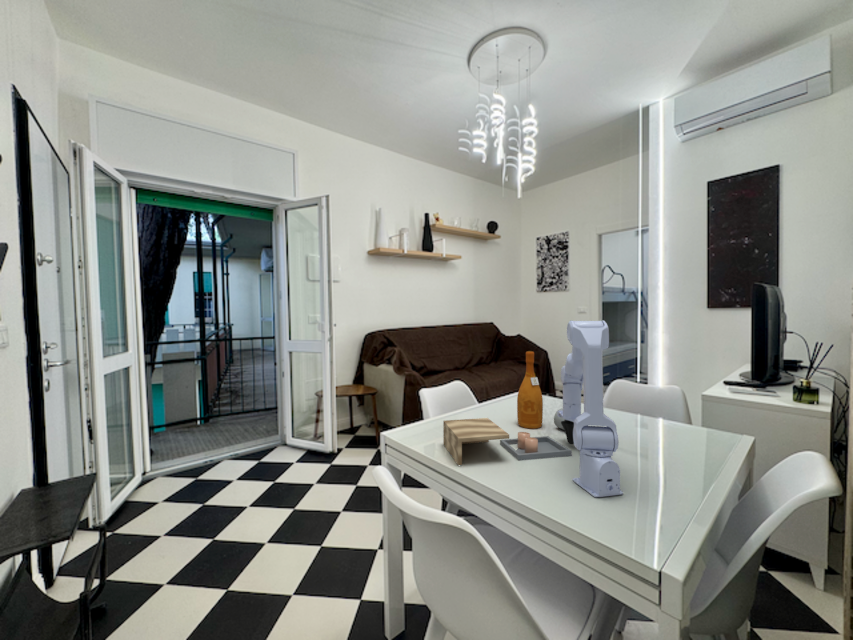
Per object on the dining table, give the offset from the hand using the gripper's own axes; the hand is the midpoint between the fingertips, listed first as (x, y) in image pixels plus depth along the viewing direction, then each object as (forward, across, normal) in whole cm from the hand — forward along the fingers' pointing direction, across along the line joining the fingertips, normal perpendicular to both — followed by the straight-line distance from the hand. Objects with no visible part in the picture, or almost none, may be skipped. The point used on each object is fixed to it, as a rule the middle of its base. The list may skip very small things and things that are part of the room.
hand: (571, 443), depth 120 cm
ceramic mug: (+2, +16, -10) cm, 19 cm away
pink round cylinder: (+1, -3, +16) cm, 16 cm away
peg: (+1, +3, +16) cm, 16 cm away
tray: (+2, 0, +14) cm, 14 cm away
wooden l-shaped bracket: (+1, +2, +34) cm, 34 cm away
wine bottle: (+1, +24, +3) cm, 24 cm away
